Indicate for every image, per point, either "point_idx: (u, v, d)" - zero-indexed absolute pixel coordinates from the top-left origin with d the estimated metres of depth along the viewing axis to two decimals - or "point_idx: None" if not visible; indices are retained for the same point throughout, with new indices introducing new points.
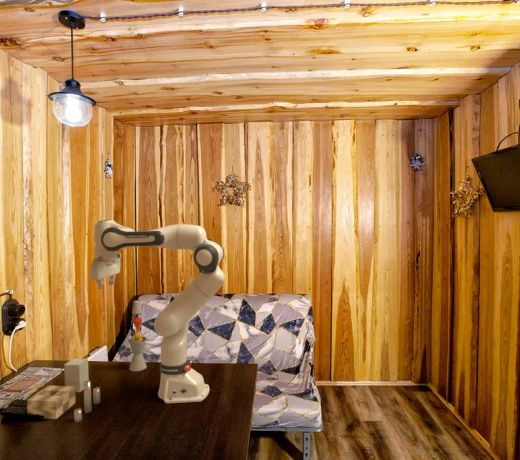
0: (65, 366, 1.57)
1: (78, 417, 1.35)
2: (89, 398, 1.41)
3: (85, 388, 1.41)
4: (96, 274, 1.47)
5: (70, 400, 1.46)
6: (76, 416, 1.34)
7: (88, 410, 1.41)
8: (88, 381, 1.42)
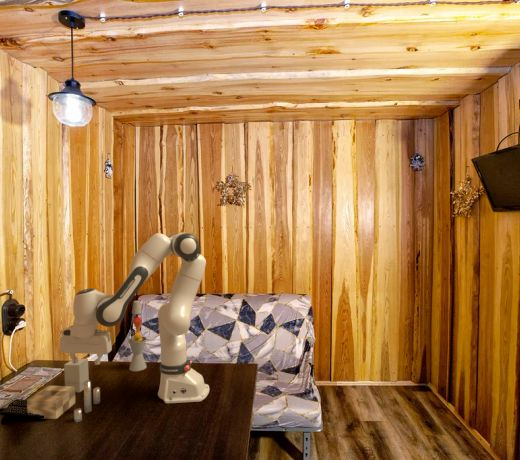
0: (65, 366, 1.57)
1: (78, 417, 1.35)
2: (89, 398, 1.41)
3: (85, 388, 1.41)
4: (111, 346, 1.42)
5: (70, 400, 1.46)
6: (76, 416, 1.34)
7: (88, 410, 1.41)
8: (88, 381, 1.42)
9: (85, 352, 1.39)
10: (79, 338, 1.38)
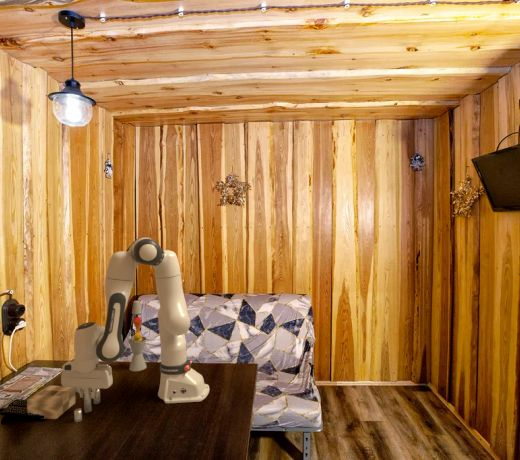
0: None
1: (78, 417, 1.35)
2: (89, 398, 1.41)
3: (85, 388, 1.41)
4: (112, 379, 1.42)
5: (70, 400, 1.46)
6: (76, 416, 1.34)
7: (88, 410, 1.41)
8: None
9: (87, 386, 1.40)
10: (80, 373, 1.39)
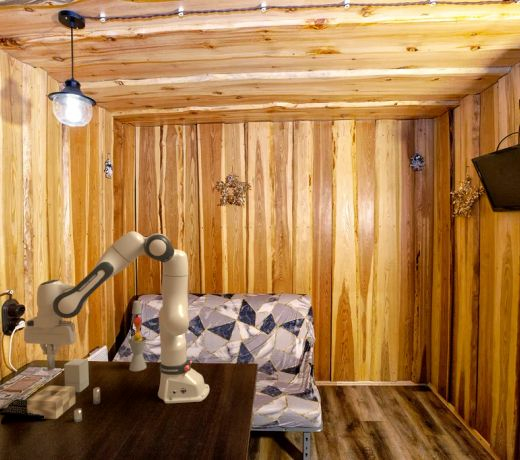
0: (65, 366, 1.57)
1: (78, 417, 1.35)
2: (52, 356, 1.42)
3: (48, 345, 1.41)
4: (75, 336, 1.42)
5: (70, 400, 1.46)
6: (76, 416, 1.34)
7: (51, 367, 1.41)
8: None
9: (49, 342, 1.40)
10: (42, 329, 1.39)
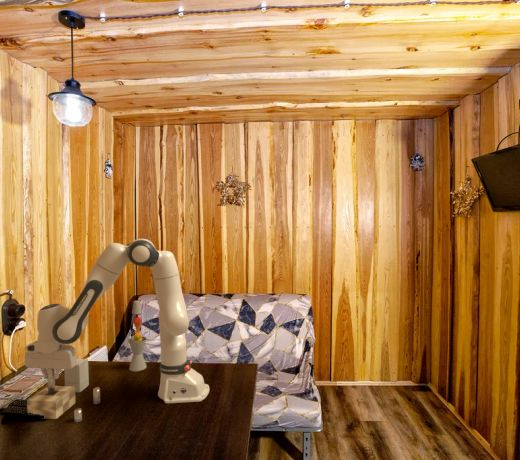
0: None
1: (78, 417, 1.35)
2: (53, 380, 1.42)
3: (48, 370, 1.41)
4: None
5: (70, 400, 1.46)
6: (76, 416, 1.34)
7: (51, 392, 1.42)
8: None
9: (50, 367, 1.41)
10: (43, 353, 1.39)
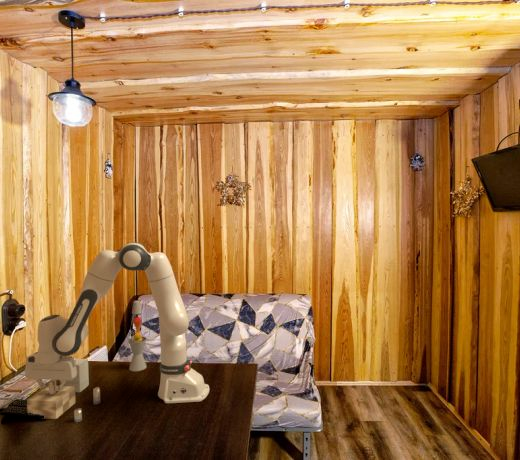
0: None
1: (78, 417, 1.35)
2: None
3: (50, 387, 1.42)
4: (76, 371, 1.43)
5: (70, 400, 1.46)
6: (76, 416, 1.34)
7: None
8: (53, 380, 1.43)
9: (50, 378, 1.41)
10: (43, 365, 1.40)
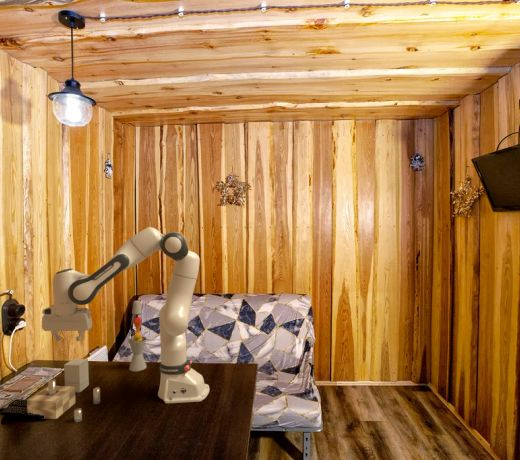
0: (65, 366, 1.57)
1: (78, 417, 1.35)
2: None
3: (50, 387, 1.42)
4: (91, 323, 1.47)
5: (70, 400, 1.46)
6: (76, 416, 1.34)
7: None
8: (53, 380, 1.43)
9: (67, 329, 1.45)
10: (60, 316, 1.44)
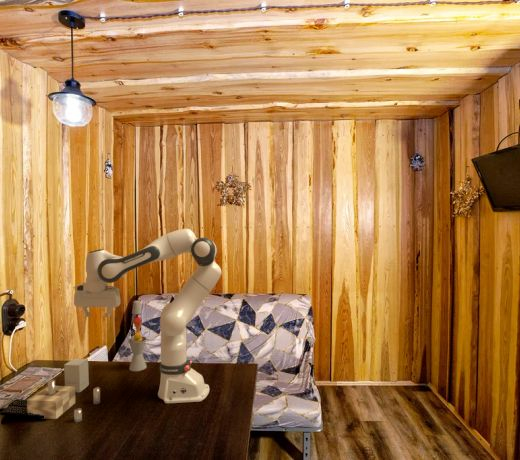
0: (65, 366, 1.57)
1: (78, 417, 1.35)
2: None
3: (49, 387, 1.41)
4: None
5: (70, 400, 1.46)
6: (76, 416, 1.34)
7: None
8: (52, 380, 1.43)
9: (97, 305, 1.55)
10: (91, 293, 1.54)
